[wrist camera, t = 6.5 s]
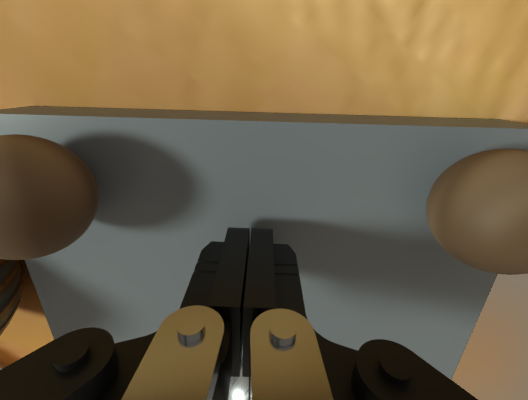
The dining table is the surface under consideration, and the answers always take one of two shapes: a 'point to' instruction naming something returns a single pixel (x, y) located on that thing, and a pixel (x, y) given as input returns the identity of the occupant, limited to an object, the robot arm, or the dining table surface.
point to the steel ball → (239, 387)
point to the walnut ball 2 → (483, 211)
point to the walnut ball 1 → (42, 197)
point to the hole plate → (267, 217)
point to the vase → (9, 290)
